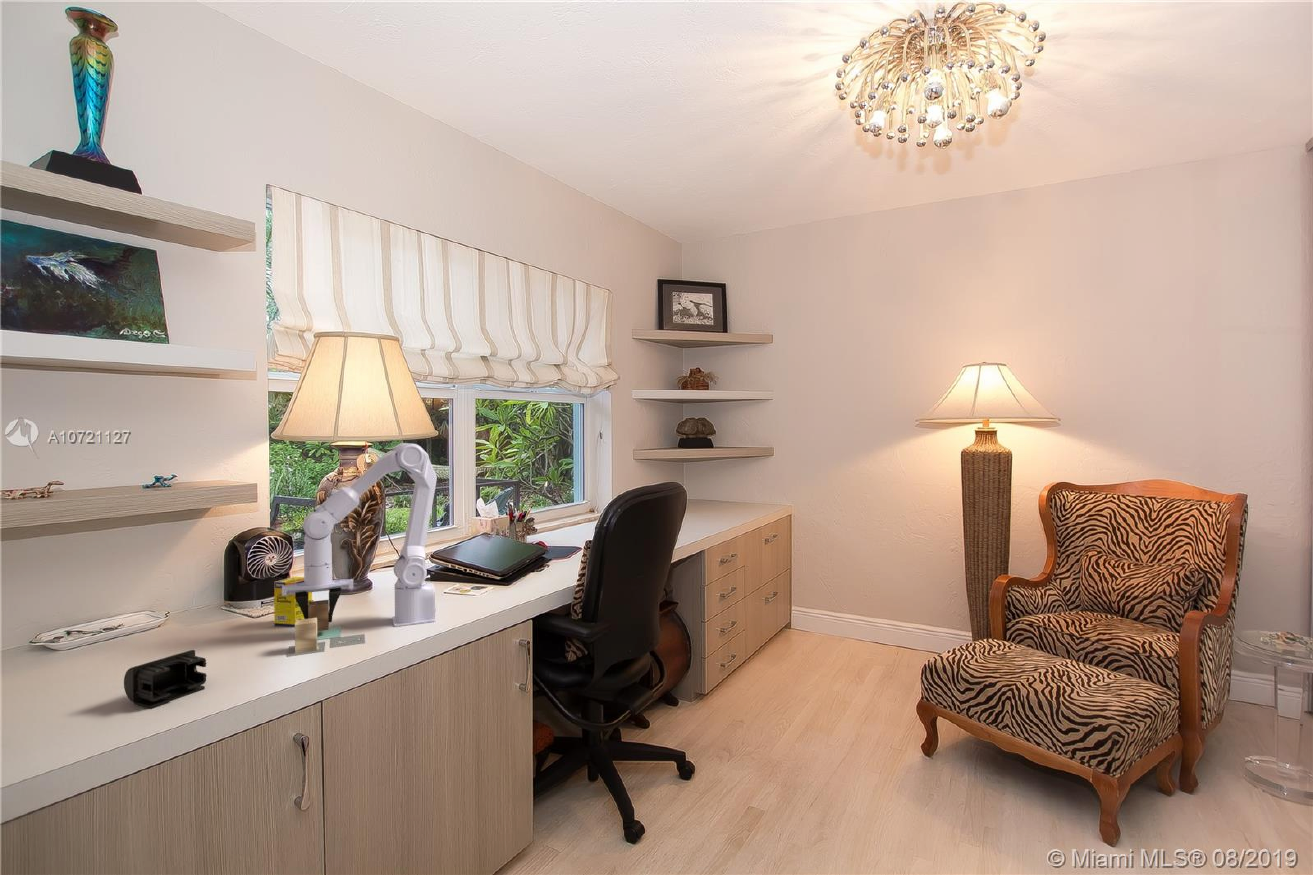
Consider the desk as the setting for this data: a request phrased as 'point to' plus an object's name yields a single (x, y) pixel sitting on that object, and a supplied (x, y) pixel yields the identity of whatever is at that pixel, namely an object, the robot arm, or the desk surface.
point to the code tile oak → (319, 649)
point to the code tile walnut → (347, 640)
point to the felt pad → (329, 633)
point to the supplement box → (287, 603)
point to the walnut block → (319, 613)
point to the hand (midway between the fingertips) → (318, 622)
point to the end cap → (165, 680)
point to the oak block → (306, 635)
